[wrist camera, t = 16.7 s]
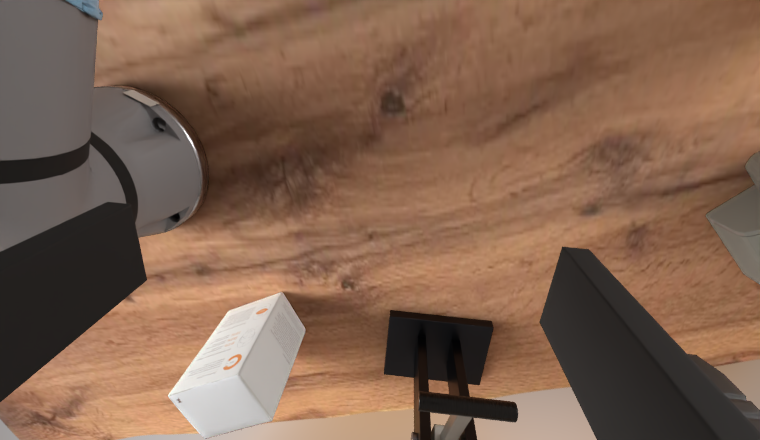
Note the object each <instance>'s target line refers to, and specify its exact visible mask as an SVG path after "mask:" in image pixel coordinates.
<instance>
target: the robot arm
mask: <svg viewBox="0 0 760 440" xmlns="http://www.w3.org/2000/svg"><path fill="white" fill-rule="evenodd" d="M102 16H103V13H102V11H101V10H100V8H99V0H0V402H1V401H2V400H3V399H5V398H6V397H7V396H8V395H9V394H11V393H12V392H13V391H14V390H15V389H17V388H18V387H19V386H20V385H21V384H23V383H24V382H25V381H26V380H27V379H29V378H30V377H31V376H32V375H33V374H35V373H36V372H37V371H38V370H39V369H41V368H42V367H43V366H44V365H45V364H47V363H48V362H49V361H50V360H51V359H53V358H54V357H55V356H56V355H58V354H59V353H60V352H61V351H62V350H64V349H65V348H66V347H67V346H68V345H70V344H71V343H72V342H73V341H74V340H76V339H77V338H78V337H79V336H80V335H82V334H83V333H84V332H85V331H86V330H88V329H89V328H90V327H91V326H92V325H94V324H95V323H96V322H97V321H98V320H100V319H101V318H102V317H103V316H104V315H106V314H107V313H108V312H109V311H110V310H112V309H113V308H114V307H115V306H116V305H118V304H119V303H120V302H121V301H122V300H124V299H125V298H126V297H127V296H128V295H130V294H131V293H132V292H133V291H134V290H136V289H137V288H138V287H139V286H140V285H142V284H143V283H144V282H145V281H146V280H147V278H146V273H145V268H144V264H143V259H142V254H141V249H140V244H139V239H138V238H139V237H144V236H150V235H155V234H160V233H164V232H167V231H170V230H172V229H174V228H176V227H178V226H179V225H181V224H182V223H184V222H185V221H186V220H188V219H189V218H190V217H192V216H193V215H194V214H195V213H196V212H197V211H198V209H199V208H200V206H201V205H202V203H203V201H204V199H205V196H206V193H207V189H208V183H209V171H208V164H207V159H206V155H205V152H204V149H203V147H202V145H201V142H200V140H199V138H198V137H197V135H196V133H195V132H194V130H193V129H192V127H191V126H190V125H189V123H188V122H187V121H186V120H185V119H184V117H183V116H182V115H181V114H180V113H179V112H178V111H177V110H175V109H174V108H173V107H172V106H171V105H169V104H168V103H167V102H165V101H164V100H162V99H161V98H159V97H157V96H155V95H153V94H151V93H149V92H147V91H144V90H141V89H138V88H134V87H129V86H117V85H115V86H103V87H94V75H95V59H96V44H97V28H98V19H99V20H102ZM540 324H541V326H542V328H543V330H544V332H545V334H546V336H547V338H548V340H549V343H550V345H551V347H552V349H553V351H554V353H555V355H556V357H557V359H558V361H559V363H560V365H561V367H562V369H563V371H564V373H565V375H566V377H567V379H568V381H569V383H570V385H571V387H572V390H573V391H574V394H575V396H576V398H577V400H578V402H579V404H580V406H581V408H582V410H583V412H584V414H585V416H586V418H587V420H588V422H589V424H590V426H591V428H592V430H593V432H594V435H595V436H596V438H597V440H760V410H759V409H758V408H757V407H756V406H755V405H754V404H753V403H752V402H751V401H747V400H746V396H745V395H744V394H743V393H742V392H741V391H740V390H739V389H738V388H737V387H736V386H735V385H734V384H733V383H732V382H731V381H730V380H729V379H728V378H727V377H726V376H725V375H724V374H723V373H721V372H720V371H718V370H717V369H716V368H714V367H713V366H711V365H710V364H708V363H707V362H705V361H704V360H703V359H701V358H700V357H698V356H697V355H692V354H686V353H685V352H684V350H683V349H682V348H681V347H680V346H679V345H678V344H677V343H676V342H675V341H674V340H673V339H672V338H671V337H670V336H669V334H668V333H667V332H666V331H665V330H664V329H663V328H662V327H661V326H660V325H659V324H658V323H657V322H656V321H655V320H654V318H653V317H652V316H651V315H650V314H649V313H648V312H647V311H646V310H645V309H644V308H643V307H642V306H641V305H640V304H639V302H638V301H637V300H636V299H635V298H634V297H633V296H632V295H631V294H630V293H629V292H628V291H627V290H626V289H625V288H624V286H623V285H622V284H621V283H620V282H619V281H618V280H617V279H616V278H615V277H614V276H613V275H612V274H611V273H610V272H609V270H608V269H607V268H606V267H605V266H604V265H603V264H602V263H601V262H600V261H599V260H598V259H597V258H596V257H595V255H594V254H593V253H592V252H591V251H590V250H589V249H579V248H569V247H562V250H561V253H560V256H559V260H558V263H557V266H556V270H555V273H554V276H553V279H552V283H551V286H550V289H549V293H548V296H547V299H546V303H545V306H544V309H543V313H542V316H541V319H540Z"/></svg>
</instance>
